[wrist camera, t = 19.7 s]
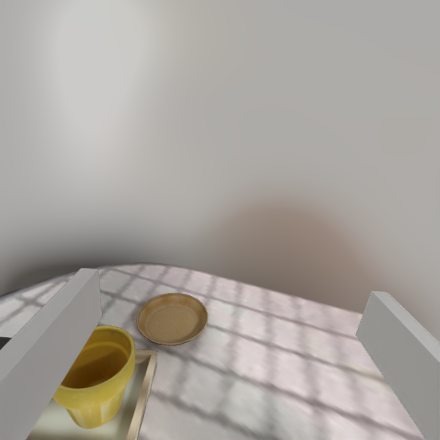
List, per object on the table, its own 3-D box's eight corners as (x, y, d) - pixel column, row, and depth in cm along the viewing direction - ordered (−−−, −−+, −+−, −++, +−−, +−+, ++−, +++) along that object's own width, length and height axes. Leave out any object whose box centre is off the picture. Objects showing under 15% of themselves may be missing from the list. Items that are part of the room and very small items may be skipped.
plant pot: (122, 359, 43) (119, 314, 39) (147, 410, 36) (147, 361, 32) (51, 395, 36) (41, 345, 33) (65, 466, 29) (53, 412, 26)
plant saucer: (221, 326, 53) (222, 316, 52) (165, 369, 43) (165, 358, 42) (178, 293, 62) (178, 285, 61) (123, 322, 52) (122, 313, 51)
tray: (128, 471, 30) (127, 457, 29) (4, 466, 29) (-1, 450, 28) (157, 363, 43) (157, 351, 42) (73, 358, 43) (71, 345, 42)
